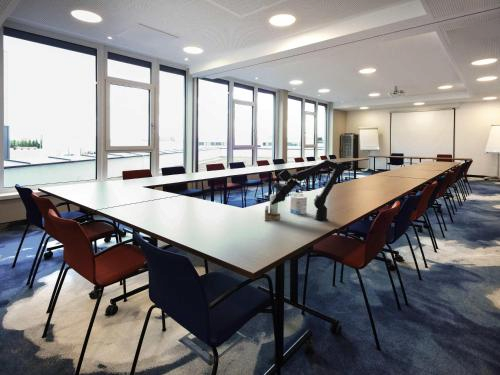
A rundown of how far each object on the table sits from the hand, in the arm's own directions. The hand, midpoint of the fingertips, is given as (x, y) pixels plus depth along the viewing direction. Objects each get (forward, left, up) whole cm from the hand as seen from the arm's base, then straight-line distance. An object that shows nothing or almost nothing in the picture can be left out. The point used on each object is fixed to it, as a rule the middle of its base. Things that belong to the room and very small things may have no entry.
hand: (271, 203), depth 199 cm
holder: (-1, -1, -10) cm, 10 cm away
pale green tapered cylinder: (-1, -1, -7) cm, 7 cm away
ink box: (+4, -26, -10) cm, 28 cm away
